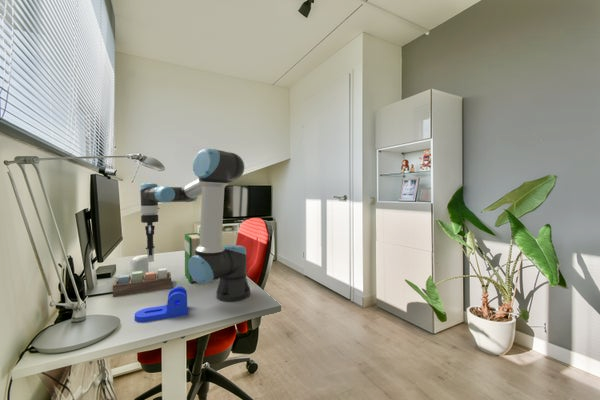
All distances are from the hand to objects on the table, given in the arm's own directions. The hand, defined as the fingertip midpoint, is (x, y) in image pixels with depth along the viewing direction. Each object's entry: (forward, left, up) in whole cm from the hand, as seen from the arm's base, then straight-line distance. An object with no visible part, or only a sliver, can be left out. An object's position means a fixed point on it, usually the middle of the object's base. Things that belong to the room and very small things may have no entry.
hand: (150, 261), depth 133 cm
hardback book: (+6, -21, -13) cm, 26 cm away
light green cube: (0, +6, -9) cm, 10 cm away
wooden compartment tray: (0, +3, -13) cm, 13 cm away
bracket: (-37, -5, -14) cm, 39 cm away
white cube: (0, -5, -9) cm, 10 cm away
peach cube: (0, 0, -10) cm, 10 cm away
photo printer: (+21, +6, -13) cm, 26 cm away
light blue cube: (0, +11, -10) cm, 15 cm away
